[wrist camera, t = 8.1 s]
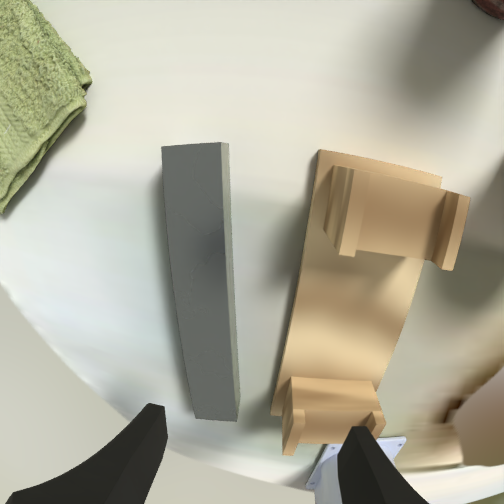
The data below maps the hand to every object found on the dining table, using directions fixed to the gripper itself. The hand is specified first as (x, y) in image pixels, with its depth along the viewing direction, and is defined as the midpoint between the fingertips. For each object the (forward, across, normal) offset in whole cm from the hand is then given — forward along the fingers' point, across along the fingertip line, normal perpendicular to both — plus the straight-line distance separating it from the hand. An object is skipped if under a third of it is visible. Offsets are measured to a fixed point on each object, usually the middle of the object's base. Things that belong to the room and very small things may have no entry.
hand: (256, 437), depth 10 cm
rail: (+10, +4, -1) cm, 11 cm away
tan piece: (+10, -6, -1) cm, 11 cm away
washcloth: (+10, +22, -15) cm, 29 cm away
